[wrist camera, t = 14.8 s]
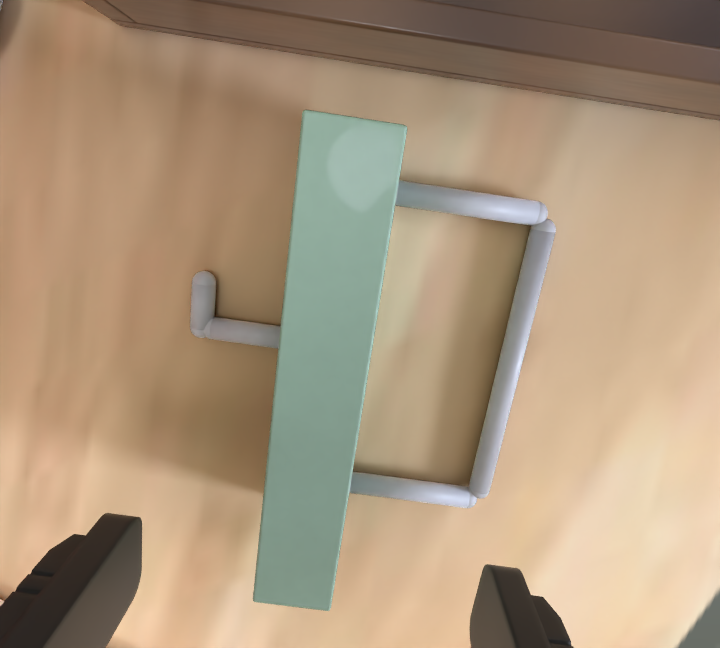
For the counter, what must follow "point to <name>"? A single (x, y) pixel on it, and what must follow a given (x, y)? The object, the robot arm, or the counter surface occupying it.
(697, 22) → the tray
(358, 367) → the hanger
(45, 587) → the robot arm
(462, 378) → the counter surface
